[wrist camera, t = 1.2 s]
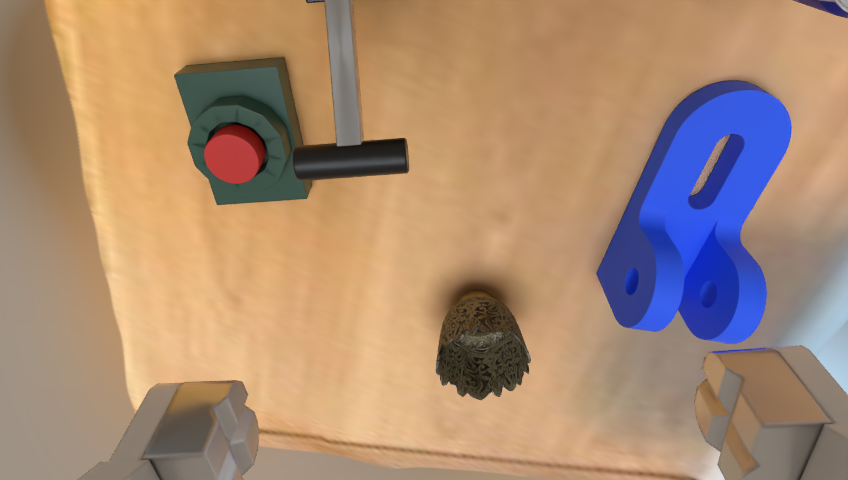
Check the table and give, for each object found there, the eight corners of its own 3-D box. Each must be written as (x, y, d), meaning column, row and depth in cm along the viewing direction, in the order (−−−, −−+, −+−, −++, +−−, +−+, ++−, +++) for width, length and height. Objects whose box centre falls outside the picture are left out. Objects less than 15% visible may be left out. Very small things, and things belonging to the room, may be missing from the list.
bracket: (685, 288, 49) (731, 362, 42) (596, 273, 48) (627, 346, 41) (798, 92, 39) (885, 144, 32) (689, 70, 39) (752, 117, 31)
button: (205, 126, 37) (196, 136, 36) (258, 122, 37) (251, 132, 36) (220, 174, 39) (212, 186, 38) (270, 170, 39) (264, 182, 38)
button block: (185, 65, 39) (162, 83, 35) (284, 57, 38) (270, 74, 35) (225, 191, 44) (209, 217, 41) (312, 185, 44) (302, 211, 40)
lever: (410, 173, 26) (406, 172, 24) (305, 181, 26) (291, 180, 24) (388, -122, 25) (382, -155, 22) (279, -111, 25) (261, -143, 23)
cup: (534, 301, 50) (550, 367, 43) (475, 345, 53) (482, 412, 46) (476, 255, 47) (484, 317, 41) (418, 304, 50) (416, 369, 44)
